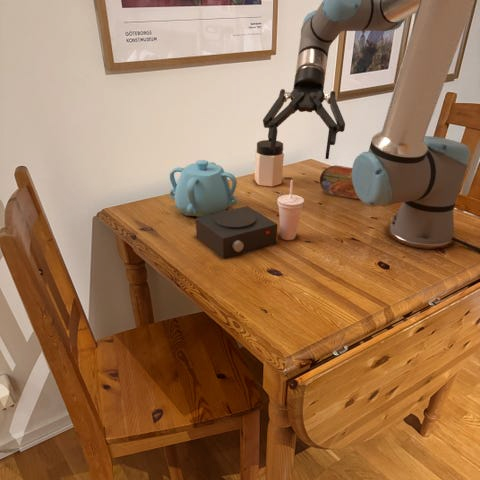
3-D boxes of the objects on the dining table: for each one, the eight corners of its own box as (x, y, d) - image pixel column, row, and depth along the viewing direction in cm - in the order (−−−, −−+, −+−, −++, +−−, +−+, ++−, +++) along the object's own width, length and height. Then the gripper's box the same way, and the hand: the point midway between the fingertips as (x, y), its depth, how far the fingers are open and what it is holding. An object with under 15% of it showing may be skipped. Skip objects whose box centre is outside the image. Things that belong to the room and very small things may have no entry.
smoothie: (299, 230, 113) (304, 176, 105) (302, 242, 108) (307, 186, 100) (274, 230, 113) (277, 176, 105) (276, 242, 108) (279, 186, 100)
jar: (267, 188, 138) (269, 149, 131) (249, 182, 143) (250, 143, 136) (286, 182, 143) (289, 143, 136) (268, 176, 148) (270, 138, 141)
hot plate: (279, 245, 107) (280, 223, 104) (226, 260, 100) (225, 238, 97) (247, 224, 117) (247, 203, 113) (196, 237, 110) (195, 215, 107)
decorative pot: (242, 218, 120) (243, 167, 112) (184, 226, 115) (181, 174, 107) (221, 197, 132) (220, 150, 124) (168, 204, 127) (164, 155, 119)
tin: (317, 192, 136) (321, 164, 131) (321, 189, 138) (324, 161, 133) (366, 201, 131) (371, 172, 126) (369, 198, 133) (374, 169, 128)
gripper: (359, 86, 113) (349, 165, 111) (263, 83, 118) (251, 158, 115) (362, 66, 106) (352, 149, 104) (259, 63, 110) (247, 143, 108)
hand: (299, 154), depth 109 cm, fingers open, 13 cm apart
